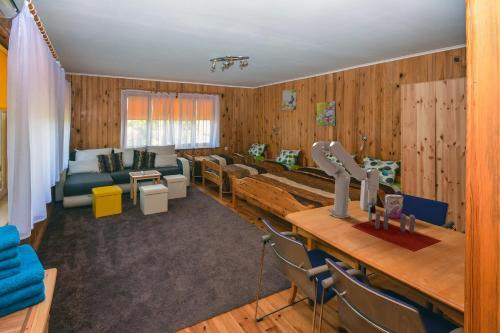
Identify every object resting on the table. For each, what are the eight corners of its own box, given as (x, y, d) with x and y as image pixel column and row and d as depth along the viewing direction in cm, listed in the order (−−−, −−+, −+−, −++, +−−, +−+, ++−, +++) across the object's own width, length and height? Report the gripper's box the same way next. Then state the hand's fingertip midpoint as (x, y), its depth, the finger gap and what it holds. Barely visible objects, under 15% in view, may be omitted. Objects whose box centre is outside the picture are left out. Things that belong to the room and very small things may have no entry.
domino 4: (401, 231, 181) (402, 216, 180) (399, 228, 186) (401, 213, 184) (404, 231, 181) (406, 216, 179) (403, 228, 186) (404, 214, 184)
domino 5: (410, 232, 180) (411, 217, 178) (408, 229, 185) (409, 214, 183) (413, 232, 179) (415, 217, 178) (411, 229, 184) (413, 214, 182)
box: (362, 210, 224) (365, 179, 220) (359, 207, 232) (361, 176, 228) (374, 210, 223) (376, 179, 219) (370, 207, 231) (372, 177, 227)
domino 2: (375, 228, 186) (376, 213, 184) (374, 225, 191) (376, 211, 189) (379, 228, 185) (380, 214, 184) (378, 226, 190) (379, 211, 188)
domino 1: (368, 220, 201) (369, 206, 199) (368, 218, 206) (369, 204, 204) (371, 220, 200) (372, 207, 199) (371, 218, 205) (372, 205, 203)
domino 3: (384, 229, 184) (385, 214, 183) (383, 226, 189) (384, 212, 187) (387, 229, 184) (388, 214, 182) (386, 227, 188) (387, 212, 187)
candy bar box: (385, 218, 206) (387, 196, 203) (383, 215, 211) (384, 194, 208) (401, 218, 205) (403, 196, 202) (398, 216, 209) (400, 194, 207)
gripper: (366, 184, 208) (365, 207, 211) (368, 189, 192) (367, 214, 194) (377, 184, 206) (376, 207, 208) (380, 190, 190) (379, 214, 192)
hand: (372, 210), depth 201 cm, fingers open, 9 cm apart
